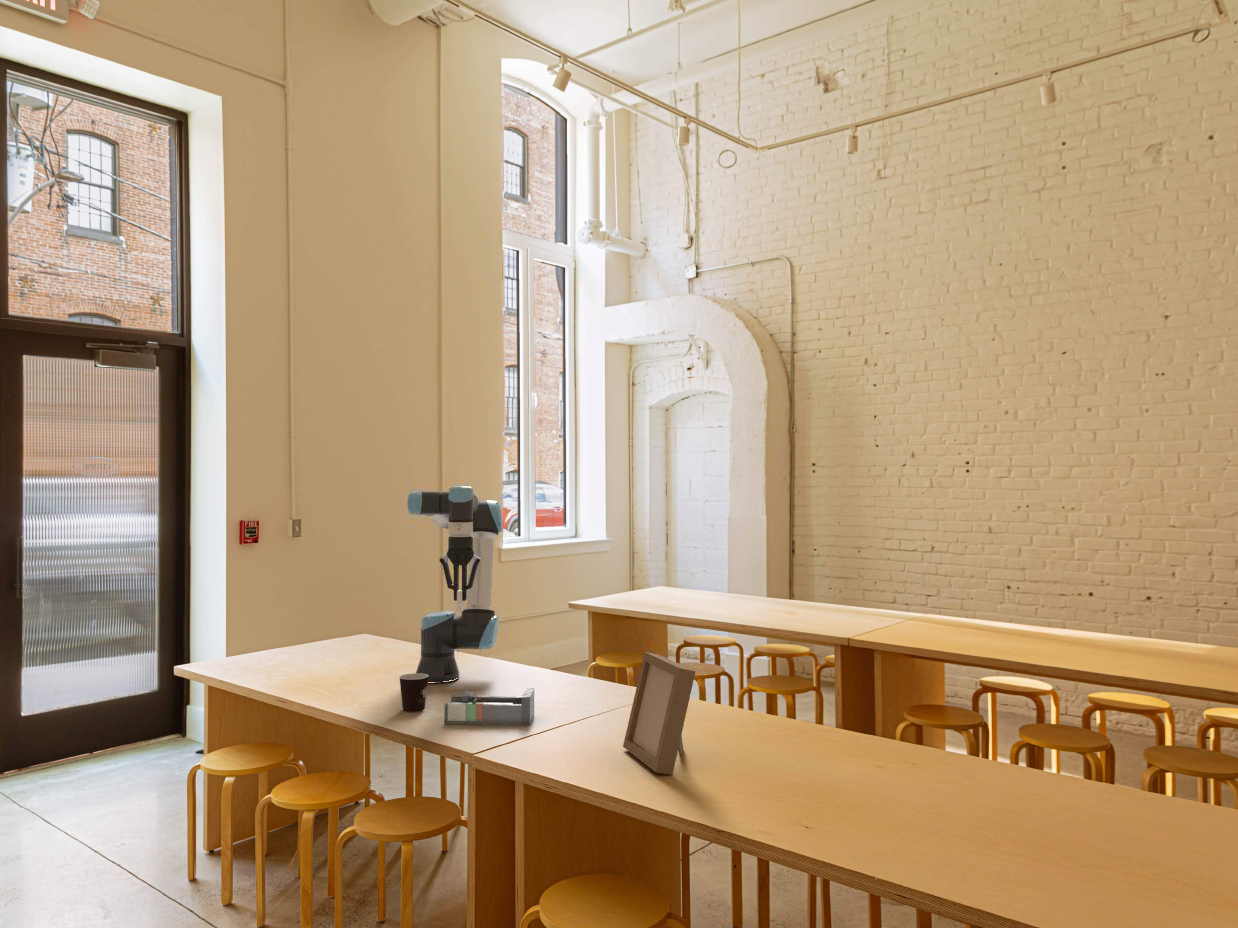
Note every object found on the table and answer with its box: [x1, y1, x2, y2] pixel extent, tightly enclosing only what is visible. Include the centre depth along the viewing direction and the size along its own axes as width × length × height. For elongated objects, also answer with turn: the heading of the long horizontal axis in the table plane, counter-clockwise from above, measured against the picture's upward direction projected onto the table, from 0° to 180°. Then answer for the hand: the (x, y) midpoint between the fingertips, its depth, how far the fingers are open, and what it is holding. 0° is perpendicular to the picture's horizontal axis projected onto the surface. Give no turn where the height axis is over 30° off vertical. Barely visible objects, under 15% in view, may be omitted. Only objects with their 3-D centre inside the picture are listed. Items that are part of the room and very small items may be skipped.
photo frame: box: [622, 651, 697, 776], centre depth 215 cm, size 15×22×25 cm
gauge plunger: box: [461, 690, 513, 704], centre depth 249 cm, size 10×14×6 cm
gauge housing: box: [443, 687, 535, 727], centre depth 250 cm, size 11×24×8 cm, turn 89°
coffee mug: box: [399, 672, 429, 713], centre depth 263 cm, size 12×9×10 cm
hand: (460, 611), depth 268 cm, fingers closed
